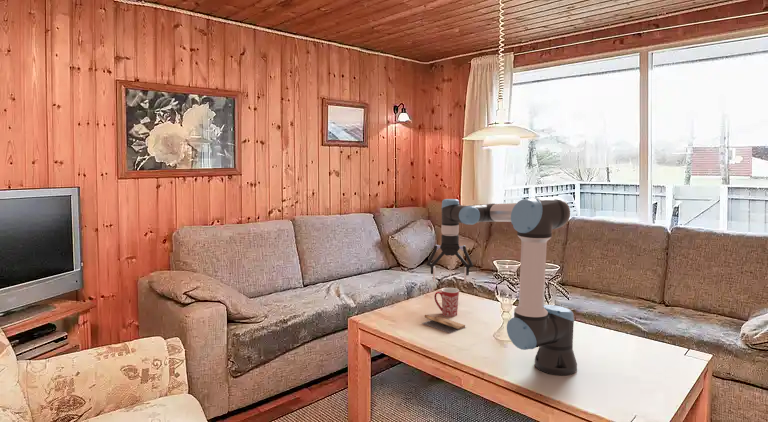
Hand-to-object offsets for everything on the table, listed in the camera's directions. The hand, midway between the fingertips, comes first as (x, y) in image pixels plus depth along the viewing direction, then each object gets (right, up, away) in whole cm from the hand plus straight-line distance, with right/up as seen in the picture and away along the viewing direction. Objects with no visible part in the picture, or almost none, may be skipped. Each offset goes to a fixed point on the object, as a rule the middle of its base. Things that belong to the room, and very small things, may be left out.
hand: (449, 281), depth 221 cm
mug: (+2, -21, +30) cm, 37 cm away
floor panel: (-1, -23, +12) cm, 26 cm away
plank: (-2, -21, +11) cm, 24 cm away
